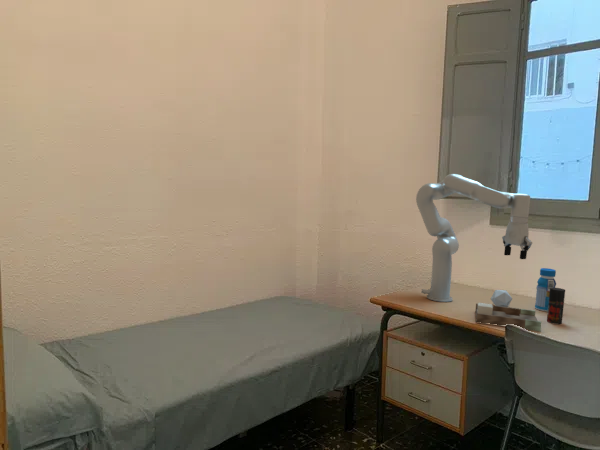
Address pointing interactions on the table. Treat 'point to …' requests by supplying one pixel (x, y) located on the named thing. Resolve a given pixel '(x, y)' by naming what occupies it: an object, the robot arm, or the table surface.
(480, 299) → the table surface
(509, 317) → the box
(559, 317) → the deodorant
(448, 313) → the table surface
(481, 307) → the pale blue block
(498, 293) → the die
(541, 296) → the beverage bottle
